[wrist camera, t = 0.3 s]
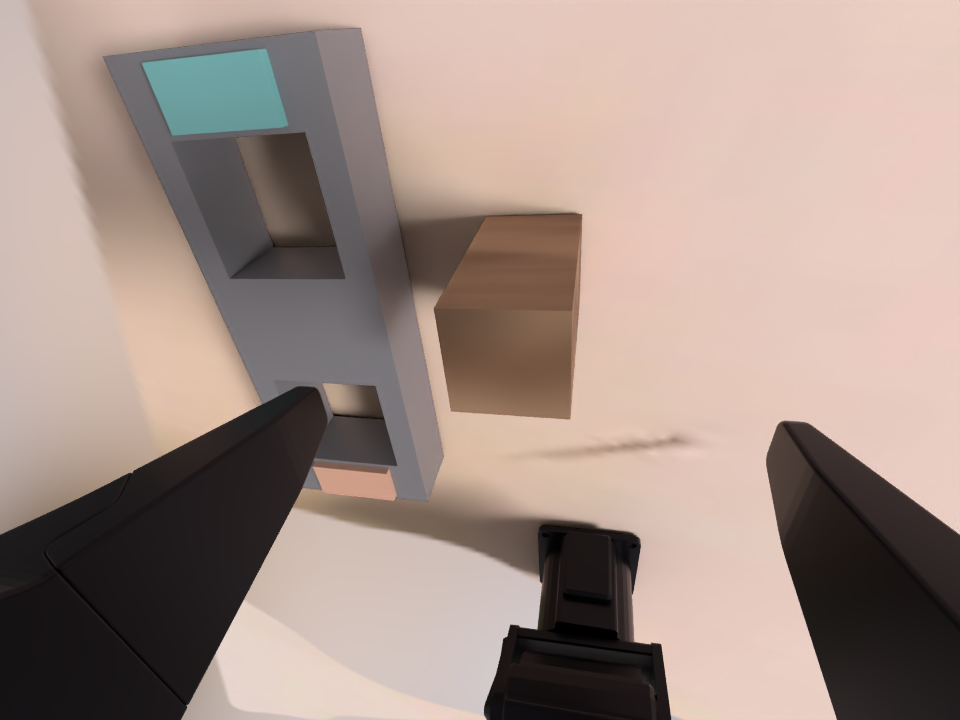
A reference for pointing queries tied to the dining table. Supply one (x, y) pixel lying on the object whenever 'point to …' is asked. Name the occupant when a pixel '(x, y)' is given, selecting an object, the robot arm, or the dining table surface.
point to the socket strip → (297, 270)
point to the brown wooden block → (513, 318)
